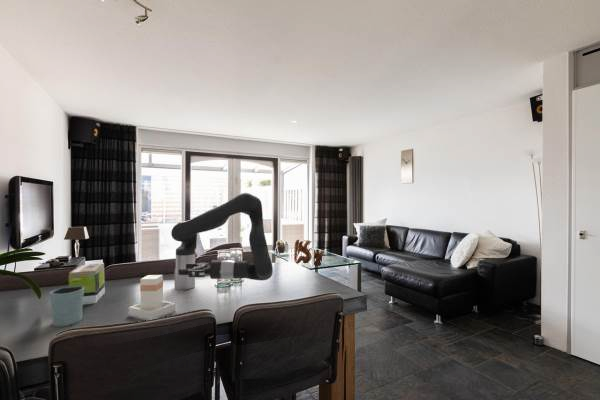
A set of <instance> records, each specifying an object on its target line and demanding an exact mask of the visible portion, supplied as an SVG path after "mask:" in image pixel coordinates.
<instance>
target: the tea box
mask: <svg viewBox="0 0 600 400" xmlns="http://www.w3.org/2000/svg"><path fill="white" fill-rule="evenodd" d="M105 281H106V280H105V264H104V262H103V263H95V264H93V263H91V264H80V265H79V266H77V267H75V268H74V269H73V270H71V271H70V272H68V287H70V286H83V287H84V295H83V306H84V305H91V304H92V305H93V304H97V302H98V301H100V299H101V298H102V296H103V295H105V293H106V287H105Z"/></svg>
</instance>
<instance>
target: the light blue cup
mask: <svg viewBox="0 0 600 400" xmlns="http://www.w3.org/2000/svg"><path fill="white" fill-rule="evenodd" d="M83 295H84V287H83V286H70V287H69V286H65V287H64V286H63V287H59V288H56V289H53V290H51V291H49V296H50V297H49V298H50V304H51V314H52V324H53V325H52V326H54V327H66V326H67V327H68V326H71V324H72V325H75V324H77V323H79V322H80V321H82V319H83V307H84V305H83Z"/></svg>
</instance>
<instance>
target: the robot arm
mask: <svg viewBox="0 0 600 400" xmlns="http://www.w3.org/2000/svg"><path fill="white" fill-rule="evenodd" d="M239 213H241V214H245V215H248V217H249V219H250V223H251V227H250V231H249V238H248V239H249V246H250V251H251V252H250V253H251V254H252V259H253V263H250V262H249V261H247V260H230V259H212V260H211V261H210V262H209V261H206V262H205V261H204V262H202V261H199V262H196V249H197V242H198V234H199V233H200V234H201V233H204V232H208V231H209V232H210V231H212V230H215V229H217V228H219V227H222V226H224V225H225V224H226V222H228V219H229V218H230V217H232V216H233V215H235V214H239ZM263 217H264V216H263V204H262V201H261V199H260V198H258V197H257V196H255V195H253V194H252V193H249V192H242V193H239V194H238V195H236V196H235V197H232V198H231V199H230V200H228V201H227V202H225V203H223V204H221V205H218V206H216V207H213V208H211V209H209V210H207V211H205V212H203V213H201V214H199V215H197V216H195V217H193V218H192V219H189V220H186V221H184V222H179V223H176V224H175V225H174V226H173V227H172V229H171V233H170V234H171V237H172V239H173V240H174V241H176V242H182V243H181V244H180V245H179V246H178V247H177V248H176V249H175V268H174V288H175V289H176V290H181V291H182V290H183V291H184V290H190V289H193V288H195V287H196V278H205V276H207V275H209V277H210V279H211V280H232V279H248V280H254V281H266V280H269V279H271V277H273V272H274V270H273V269H274V268H273V262H272V259H271V256H270V253H269V249H268V248H269V247H268V243H267V240H266V236H265V235H266V234H265V230H264V218H263Z"/></svg>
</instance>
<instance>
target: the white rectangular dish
mask: <svg viewBox="0 0 600 400" xmlns="http://www.w3.org/2000/svg"><path fill="white" fill-rule="evenodd" d="M174 313H176V303H175V302H170V301H167V300H163V307H162V308H159V309H157V310H154V311H148V310H144V309H141V302H140V303H136V304H133V305H131V306H129V307H128V316H129V317H131V318H135V319H139V320H141V319H143V320H142V321H145V320H150V319H155V318H160V317H162V318H164V317H167V316H169V315H171V314H174ZM160 319H161V318H160Z"/></svg>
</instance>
